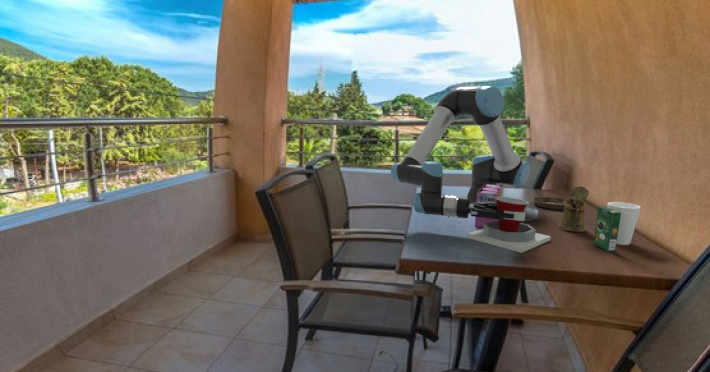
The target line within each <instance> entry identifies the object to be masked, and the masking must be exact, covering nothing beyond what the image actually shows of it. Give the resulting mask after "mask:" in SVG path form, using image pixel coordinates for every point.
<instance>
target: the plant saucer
mask: <svg viewBox="0 0 710 372" xmlns="http://www.w3.org/2000/svg"><path fill="white" fill-rule="evenodd" d="M567 199H568V198H567ZM567 199H566V198H560V197H559V198H558V197H552V196H551V197H549V196H539V197H534V198H532V201H533V202H534V204H535V205H536V206H537V205H538V206H537V207H539V206H540V208H543V207H544V209H548V208H550V209H549V210H564V208H565V207H564V205H565V203H566V200H567ZM542 202H544V203H542ZM546 202H553V203H550V204H549V203H546ZM554 203H557V204H554ZM558 203H559V204H558Z"/></svg>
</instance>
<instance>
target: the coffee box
mask: <svg viewBox="0 0 710 372" xmlns="http://www.w3.org/2000/svg"><path fill="white" fill-rule="evenodd" d="M620 217H621V213H620V212H617V211H615V210H612V209H610V208H607V206H598V207H597V213H596V222H595V229H594V237H593V245H595V246H596V247H599V248H601V249H602V250H604V251H606V252H611V253H612V252H616V248H617V247H616V246H617V244H616V242H617V236H618V229H619V223H620Z"/></svg>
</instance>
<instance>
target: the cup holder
mask: <svg viewBox="0 0 710 372" xmlns="http://www.w3.org/2000/svg"><path fill="white" fill-rule="evenodd" d="M466 238H467V239H468V240H469V239H470V240H474V241H478V242H480V243H484V244H489V245H491V246H496V247H500V248H503V249H505V250H509V251H514V252H517V253H525V252H527V251H529V250H531V249H534V248H537V247H539V246H541V245H543V244H545V243H547V242H550V241H551V236H550V235H546V234H543V233H542V234H541V233H537V231H536V229H535V228H534V227H533V226H531V224H528V223H523V222H521V223H520V225H519V229H518V232H505V231H501V230H499V223H498V221H491V222H487V223H484V227H482V228H481V229H477V230H474V231H472V232H471V231H470V232H468V233H466Z"/></svg>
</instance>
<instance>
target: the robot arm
mask: <svg viewBox="0 0 710 372" xmlns="http://www.w3.org/2000/svg"><path fill="white" fill-rule="evenodd" d="M504 105H505V103H504V95H503V94H502V91H501V90H500V89H499V88H498V87H496V86H491V85H481V86H480V85H479V86H461V87H456V88H454V89H452V90H451V91H450V92H449V91H448V93H447V94H446V95H445V96H444V97H442V98H441V99H440V100H439V102H438V103H437V104H436V105H435V108H433V115H432V116H431V118H430V120H429V121H428V122H427V124H426V125H425V127H424V129H422V131H421V133H420V135H419V136H418V138H417V139H416V140H415V142H414V143H413V144H412V146H411V147H410V150H409V151H408V153H407V154H406V155H405V157H404V159H403V160H402V161H401V162H400V161H398V162H395V163H393V165H392V166H391V168H390V176H391V178H392V180H394V181H396V182H398V183H402V184H403V183H404V184H410V185H414V186H415V185H416V186H418V187H420V192H417V193H416V194H415V195H414V199H413V209H414V211H415V212H416V213H419V214H424V215H432V216H433V215H436V216H443V217H447V218H448V219H449V218H451V217H452V218H455V217H456V218H459V219H468V218H469V214H470V216H471V217H483V218H489V219H496V220H500V221H503V218H504V219H509V220H519V221H521V222H525V219H526V212H527V207H526V208H525V210H524V212H511V211H504V212H503V211H499V210H497V203H484V202H477V192H478V191H479V190H480V189H481V188H482V186H483V185H484V184H485V183H488V184H489V185H497V184H499V185H500V184H503V186H505V185H506V186H512V187H522V186H525V184H526V183H527V182H528V179H529V177H530V173H531V165H530V163H529V161H527V160H522V158H521V155H520V154H519V153H517V152H516V151H515V150H514V148H513V146H512V143H511V141H510V139H509V137H508V134H507V131H506V129H505V127H504V123H503V122H502V119H501V115H502V112H503V111H504V110H503V109H504V107H505V106H504ZM459 117H470V118H471V120H472V122H473V124H475V125H476V126H479V128H480V131H481V132H482V134H483V137H484V139H485V141H486V143H487V145H488V146H487V147H489V150H490V152H491V154H487V155H486V154H484V155H476V156H474V157H473V158H472V164H471V167H472V168H471V180H470V181H471V182H470V183H471V184H470V188H469V190H468V192H467V195H466V196H459V197H458V196H457V195H445V194H444V195H443V193H442V191H443V178H444V172H443V171H444V170H443V168H444V166H443V163H442V162H440V161H432V160H431V161H430V160H429V161H427V159H428V157H429V156H430V154H432V152H433V150H434V148H435V147H436V146H437V143H438V142H439V141H440V139H441V138H442V137H443V134H444V133H445V131H446V130H447V128H448V126H449V125H450V124H452V123H455V120H457V118H459Z"/></svg>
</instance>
